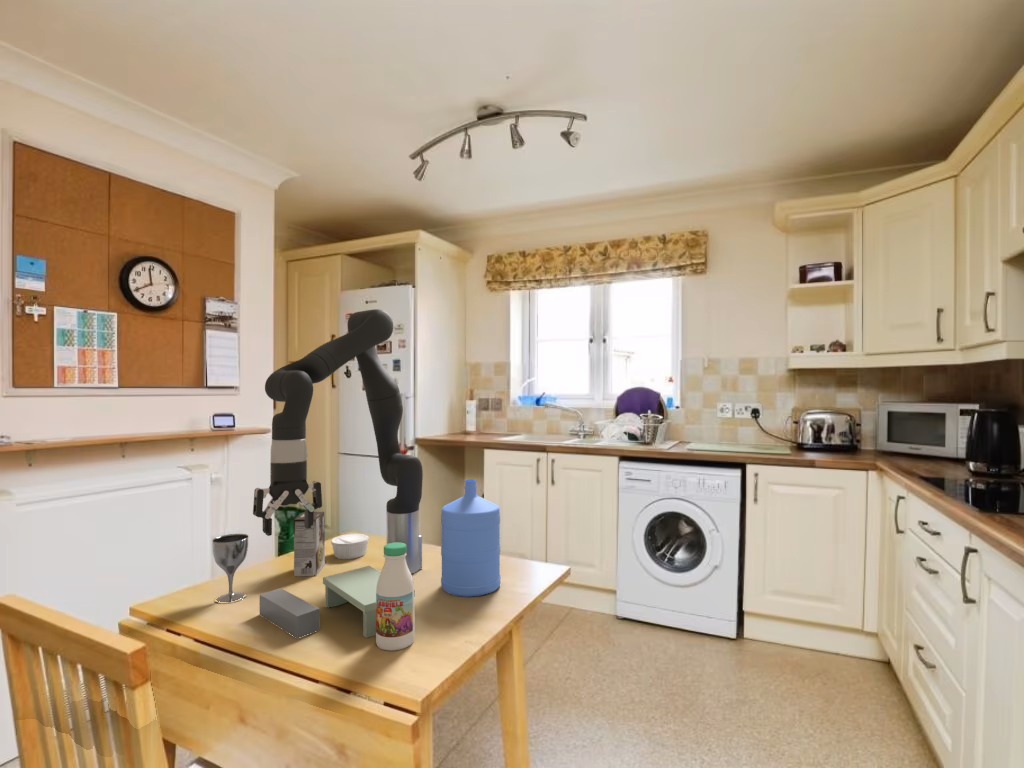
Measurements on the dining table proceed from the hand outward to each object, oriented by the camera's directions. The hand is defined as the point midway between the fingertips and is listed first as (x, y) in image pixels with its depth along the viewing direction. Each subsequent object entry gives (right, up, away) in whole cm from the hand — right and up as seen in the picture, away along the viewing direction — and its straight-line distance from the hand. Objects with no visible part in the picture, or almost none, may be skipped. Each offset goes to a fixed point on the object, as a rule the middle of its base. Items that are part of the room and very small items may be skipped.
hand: (288, 531), depth 115 cm
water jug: (+39, -21, +20) cm, 49 cm away
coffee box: (-8, -21, +33) cm, 40 cm away
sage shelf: (+17, -20, +4) cm, 26 cm away
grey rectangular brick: (0, -21, 0) cm, 21 cm away
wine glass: (-20, -21, +13) cm, 32 cm away
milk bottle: (+26, -20, -10) cm, 35 cm away
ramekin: (-1, -21, +47) cm, 52 cm away
